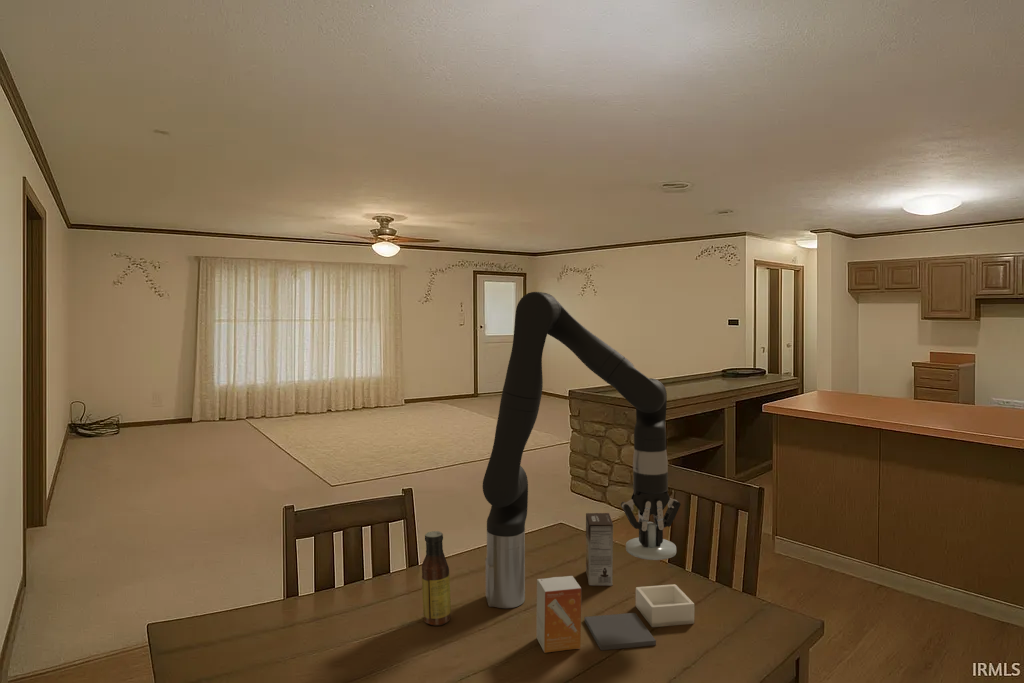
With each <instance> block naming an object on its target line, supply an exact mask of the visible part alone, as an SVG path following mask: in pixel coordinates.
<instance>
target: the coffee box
mask: <svg viewBox="0 0 1024 683" xmlns="http://www.w3.org/2000/svg"><path fill="white" fill-rule="evenodd" d="M613 554H614V524H613V520H612V517H611V515H610V512H594V513H593V512H592V513H591V512H590V513H589V512H587V513H585V572H586V573H585V574H586V576H587V581H588V582H587V583H588V585H589V586H613V584H614V583H613V581H614V579H613V576H614V575H613V572H614V571H613V570H614V569H613V566H614V565H613V563H614V562H613V561H614V560H613V559H614V555H613Z"/></svg>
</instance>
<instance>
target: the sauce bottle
mask: <svg viewBox="0 0 1024 683" xmlns="http://www.w3.org/2000/svg"><path fill="white" fill-rule="evenodd" d="M443 540H444V534H443V532H441V531H439V530H434V531H433V530H432V531H428V532H426V533H425V534H424V541H425V549H426V550H425V557H424V559H423V561H422V564H421V585H422V586H421V587H422V588H421V589H422V609H423V610H422V613H423V614H422V615H423V619H424V622H425V624H428V625H430V626H442V625H446V624H447V623H449V621H450V620H451V612H452V605H451V602H452V600H451V578H450V567H449V565H448V562H447V558H446V556H445V553H444V549H443Z"/></svg>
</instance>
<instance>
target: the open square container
mask: <svg viewBox="0 0 1024 683" xmlns="http://www.w3.org/2000/svg"><path fill="white" fill-rule="evenodd" d="M635 608H637V610H638V611H639V612H640V614H641V615H642V616H643V618H644V619H645V620H646V621H647V623H648V624H649V625H650V627H651V628H659V627H660V628H662V627H671V626H680V625H681V626H682V625H683V626H684V625H694V624H695V603H694V602H693V601H692V600H691V599H690V597H689V596H688V595H686V593H685V592H684V591H683V590H682V589H681V588H680V587H679V586H678V585H677V584H662V585H661V584H660V585H648V586H637V587H635Z"/></svg>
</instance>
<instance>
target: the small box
mask: <svg viewBox="0 0 1024 683" xmlns="http://www.w3.org/2000/svg"><path fill="white" fill-rule="evenodd" d="M536 639H537V641H538V643H539V645H540V647H541V649H542V651H543V653H545V654H548V653H551V652H552V653H553V652H560V651H568V650H580V649H581V646H582V645H581V644H582V643H581V641H582V587H581V586H580V584H579V582H577V580H576V578H575V577H574V576H573V575H566V576H552V577H547V578H546V577H545V578H537V579H536Z"/></svg>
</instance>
